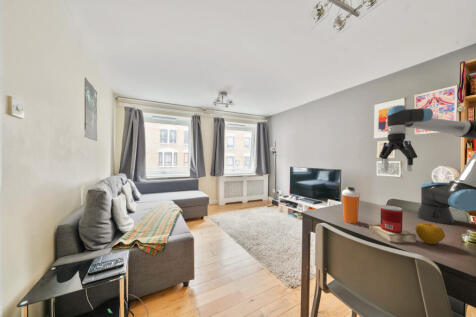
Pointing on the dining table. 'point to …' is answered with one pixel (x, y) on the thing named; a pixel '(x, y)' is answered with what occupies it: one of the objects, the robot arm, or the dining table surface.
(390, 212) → the canned food
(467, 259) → the dining table surface
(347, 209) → the shaker bottle
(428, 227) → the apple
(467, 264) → the dining table surface
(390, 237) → the dock
